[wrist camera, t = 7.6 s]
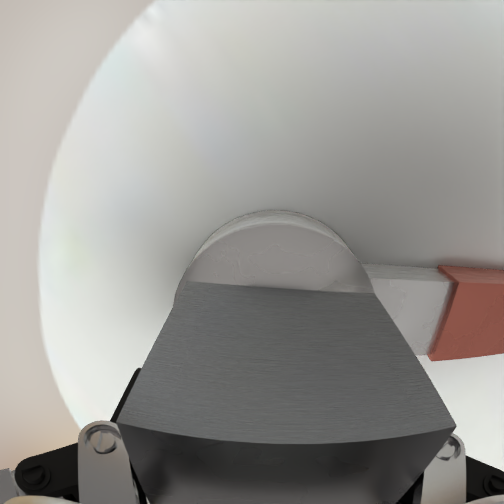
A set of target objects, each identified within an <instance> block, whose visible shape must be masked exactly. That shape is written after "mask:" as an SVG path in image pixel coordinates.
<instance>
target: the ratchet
mask: <svg viewBox="0 0 504 504" xmlns="http://www.w3.org/2000/svg"><path fill="white" fill-rule="evenodd" d="M187 281H194V282H205V283H217V284H230V285H243V286H256V287H270V288H285V289H301V290H318V291H336V292H356V293H375V295H376V296H377V298H378V299H379V300H380V302H381V303H382V305H383V306H384V308H385V309H386V311H387V312H388V314H389V315H390V317H391V318H392V320H393V321H394V323H395V324H396V326H397V327H398V329H399V330H400V332H401V334H402V335H403V337H404V338H405V340H406V341H407V343H408V344H409V346H410V348H411V349H412V351H413V352H414V354H415V355H428V357H429V359H430V360H431V361H442V360H453V359H462V358H471V357H480V356H487V355H495V354H502V353H504V270H495V269H482V268H469V267H456V266H443V265H438V268H424V267H410V266H396V265H382V264H369V263H360V262H359V261H358V260H357V258H356V257H355V256H354V254H353V253H352V252H351V250H350V249H349V248H348V246H347V245H346V244H345V243H344V241H343V240H342V239H341V238H340V237H339V236H338V235H337V234H336V233H335V232H334V231H333V230H331V229H330V228H329V227H328V226H326V225H324V224H323V223H321V222H320V221H318V220H316V219H313V218H311V217H309V216H307V215H303V214H300V213H296V212H290V211H284V210H267V211H259V212H254V213H250V214H246V215H243V216H241V217H238V218H236V219H234V220H232V221H230V222H228V223H227V224H225V225H223V226H222V227H220V228H219V229H218V230H217V231H215V232H214V233H213V234H212V235H211V236H210V237H209V238H208V239H207V240H206V241H205V242H204V244H203V245H202V247H201V248H200V249H199V251H198V252H197V254H196V255H195V257H194V259H193V260H192V262H191V263H190V265H189V267H188V268H187V270H186V272H185V273H184V275H183V277H182V279H181V281H180V283H179V285H178V288H177V291H176V294H175V299H174V305H175V303H176V301H177V299H178V297H179V295H180V293H181V291H182V290H183V288H184V286H185V284H186V282H187ZM174 305H173V307H174Z"/></svg>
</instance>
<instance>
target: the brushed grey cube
mask: <svg viewBox="0 0 504 504" xmlns="http://www.w3.org/2000/svg"><path fill="white" fill-rule="evenodd" d="M116 423H117V426H118V429H119V432H120V435H121V437H122V440H123V443H124V445H125V448H126V451H127V453H128V456H129V458H130V461H131V463H132V466H133V468H134V470H135V473H136V475H137V477H138V480H139V482H140V484H141V486H142V489H143V491H144V493H145V495H146V497H147V499H148V501H149V504H396V503H397V501H398V500H399V499H400V498H401V497H402V496H403V495H404V494H405V493H406V492H407V490H408V489H409V488H410V487H411V486H412V485H413V484H414V482H415V481H416V480H417V479H418V478H419V476H420V475H421V474H422V473H423V472H424V470H425V469H426V468H427V467H428V465H429V464H430V463H431V461H432V460H433V459H434V458H435V456H436V455H437V454H438V452H439V451H440V450H441V448H442V447H443V445H444V444H445V443H446V441H447V440H448V438H449V437H450V435H451V434H452V432H453V431H454V429H455V428H456V424H455V422H454V420H453V418H452V417H451V415H450V413H449V411H448V409H447V408H446V406H445V404H444V402H443V401H442V399H441V397H440V395H439V394H438V392H437V390H436V389H435V387H434V385H433V383H432V382H431V380H430V378H429V377H428V375H427V373H426V372H425V370H424V369H423V367H422V365H421V364H420V362H419V360H418V359H417V357H416V356H415V354H414V352H413V351H412V349H411V348H410V346H409V344H408V343H407V341H406V340H405V338H404V337H403V335H402V334H401V332H400V330H399V329H398V327H397V326H396V324H395V323H394V321H393V320H392V318H391V317H390V315H389V314H388V312H387V311H386V309H385V308H384V306H383V305H382V303H381V302H380V300H379V299H378V298H377V296H376V295H375V293H356V292H336V291H318V290H301V289H285V288H270V287H256V286H243V285H230V284H217V283H205V282H194V281H187V282H186V284H185V286H184V288H183V290H182V291H181V293H180V295H179V297H178V299H177V301H176V303H175V305H174V307H173V308H172V310H171V312H170V314H169V316H168V318H167V320H166V322H165V324H164V326H163V328H162V330H161V331H160V333H159V335H158V337H157V339H156V341H155V343H154V345H153V347H152V349H151V351H150V353H149V355H148V357H147V359H146V361H145V363H144V365H143V367H142V369H141V371H140V373H139V375H138V377H137V379H136V381H135V383H134V385H133V387H132V389H131V391H130V394H129V396H128V398H127V400H126V402H125V404H124V406H123V408H122V410H121V412H120V414H119V417H118V419H117V421H116Z"/></svg>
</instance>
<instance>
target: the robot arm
mask: <svg viewBox="0 0 504 504" xmlns="http://www.w3.org/2000/svg"><path fill="white" fill-rule="evenodd" d="M141 369H142V368H138V369H136V371H135V372H134V374H133V376H132V378H131V380H130V382H129V384H128V386H127V388H126V390H125V392H124V394H123V396H122V398H121V400H120V402H119V404H118V406H117V408H116V410H115V412H114V414H113V416H112V418H111V420H110V421H95V422H92V423H90V424H88V425H87V426H85V427H84V428H83V429H82V430H81V432H80V434H79V438H78V443H75V444H72V445H69V446H66V447H63V448H59V449H56V450H53V451H50V452H46V453H43V454H39V455H36V456H32V457H29V458H26V459H24V460H23V461H21V462H20V463H19V464H18V466H17V467H16V469H15V470H13V471H11V470H10V469H9V468H8V469H4V470H0V504H149V501H148V499H147V497H146V495H145V493H144V491H143V489H142V486H141V484H140V482H139V480H138V477H137V475H136V473H135V470H134V468H133V466H132V463H131V461H130V458H129V456H128V453H127V451H126V448H125V445H124V443H123V440H122V437H121V435H120V432H119V429H118V426H117V423H116V421H117V419H118V417H119V414H120V412H121V410H122V408H123V406H124V404H125V402H126V400H127V398H128V396H129V394H130V391H131V389H132V387H133V385H134V383H135V381H136V379H137V377H138V375H139V373H140V371H141ZM396 504H504V472H503V471H501V470H499V469H497V468H494V467H492V466H489V465H487V464H485V463H482V462H480V461H478V460H475V459H473V458H471V457H468V456H466V455H465V446H464V443H463V442H462V440H461V439H460V438H459V437H458V436H457V435H455V434H453V433H452V434H451V435H450V437H449V438H448V440H447V441H446V443H445V444H444V445H443V447H442V448H441V450H440V451H439V452H438V454H437V455H436V456H435V458H434V459H433V460H432V461H431V463H430V464H429V465H428V467H427V468H426V469H425V470H424V472H423V473H422V474H421V475H420V476H419V478H418V479H417V480H416V481H415V482H414V484H413V485H412V486H411V487H410V488H409V489H408V490H407V492H406V493H405V494H404V495H403V496H402V497H401V498H400V499H399V500H398V501H397V503H396Z"/></svg>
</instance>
